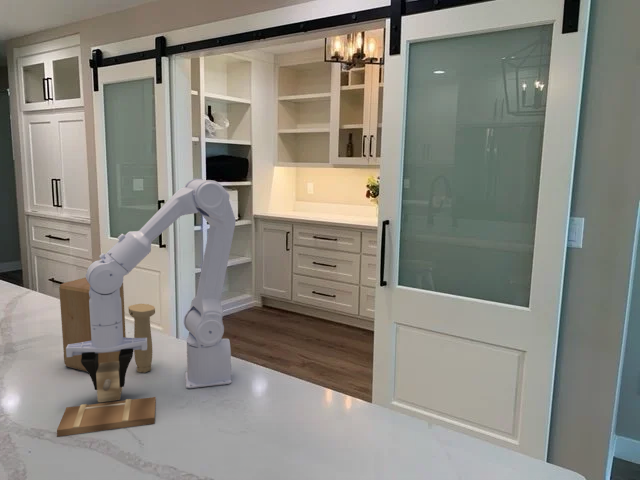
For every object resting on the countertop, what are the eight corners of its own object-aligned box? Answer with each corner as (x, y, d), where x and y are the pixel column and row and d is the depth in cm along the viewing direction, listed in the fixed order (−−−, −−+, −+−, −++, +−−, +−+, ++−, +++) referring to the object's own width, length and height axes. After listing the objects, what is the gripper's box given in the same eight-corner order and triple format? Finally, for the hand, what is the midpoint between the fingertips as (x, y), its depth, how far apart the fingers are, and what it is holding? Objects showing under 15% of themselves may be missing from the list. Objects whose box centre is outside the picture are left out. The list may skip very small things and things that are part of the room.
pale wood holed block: (122, 388, 98) (121, 361, 97) (118, 406, 91) (117, 376, 90) (101, 390, 97) (99, 363, 96) (95, 408, 90) (94, 379, 89)
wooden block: (62, 367, 109) (56, 283, 106) (97, 351, 118) (93, 274, 115) (95, 375, 105) (90, 288, 102) (128, 358, 115) (124, 278, 111)
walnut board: (155, 402, 94) (155, 395, 94) (154, 423, 87) (154, 416, 87) (66, 413, 90) (66, 406, 89) (57, 436, 82) (56, 429, 82)
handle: (142, 378, 105) (139, 313, 102) (126, 369, 108) (123, 307, 106) (161, 370, 108) (159, 308, 106) (145, 363, 112) (143, 302, 110)
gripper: (146, 312, 98) (149, 373, 100) (69, 317, 94) (73, 381, 96) (145, 323, 92) (147, 388, 94) (61, 329, 87) (66, 398, 90)
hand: (110, 386), depth 95 cm, fingers closed on pale wood holed block, 4 cm apart
